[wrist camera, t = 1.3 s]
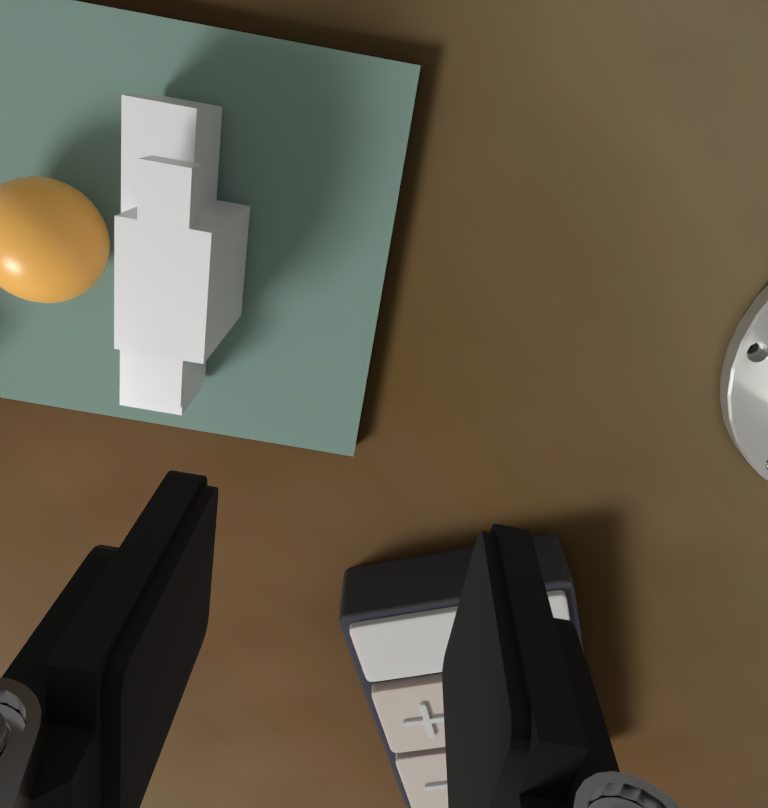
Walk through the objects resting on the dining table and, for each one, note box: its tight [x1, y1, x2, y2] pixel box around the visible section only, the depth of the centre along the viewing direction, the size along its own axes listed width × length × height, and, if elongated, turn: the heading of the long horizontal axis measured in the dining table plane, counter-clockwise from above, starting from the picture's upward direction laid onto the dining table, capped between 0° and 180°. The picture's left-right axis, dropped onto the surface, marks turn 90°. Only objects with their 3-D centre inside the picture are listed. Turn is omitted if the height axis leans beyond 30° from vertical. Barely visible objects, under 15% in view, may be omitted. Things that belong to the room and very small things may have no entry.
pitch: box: [0, 0, 421, 456], centre depth 27 cm, size 24×16×1 cm, turn 80°
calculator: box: [339, 534, 585, 808], centre depth 36 cm, size 11×4×15 cm
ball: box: [0, 176, 110, 303], centre depth 25 cm, size 4×4×4 cm
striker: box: [114, 94, 250, 415], centre depth 24 cm, size 4×11×6 cm, turn 171°
